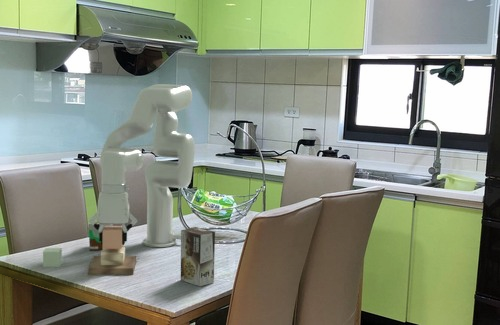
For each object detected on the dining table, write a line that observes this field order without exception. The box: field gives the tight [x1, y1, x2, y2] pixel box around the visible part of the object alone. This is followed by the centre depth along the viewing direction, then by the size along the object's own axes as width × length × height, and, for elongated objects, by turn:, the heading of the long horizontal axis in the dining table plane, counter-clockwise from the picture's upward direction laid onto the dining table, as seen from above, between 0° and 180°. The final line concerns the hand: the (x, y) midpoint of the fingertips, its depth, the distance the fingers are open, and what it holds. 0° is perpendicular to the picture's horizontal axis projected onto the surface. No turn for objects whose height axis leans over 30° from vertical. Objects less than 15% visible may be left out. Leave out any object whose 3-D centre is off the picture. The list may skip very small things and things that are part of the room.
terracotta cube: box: [103, 225, 124, 249], centre depth 197 cm, size 6×6×6 cm
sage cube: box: [42, 247, 63, 268], centre depth 199 cm, size 5×5×5 cm
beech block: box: [100, 246, 126, 265], centre depth 198 cm, size 7×7×4 cm
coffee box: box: [180, 226, 216, 287], centre depth 186 cm, size 9×6×16 cm
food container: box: [87, 221, 114, 252], centre depth 220 cm, size 12×6×10 cm, turn 168°
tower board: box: [87, 255, 137, 276], centre depth 198 cm, size 14×14×2 cm
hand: (113, 243), depth 197 cm, fingers closed on terracotta cube, 6 cm apart
